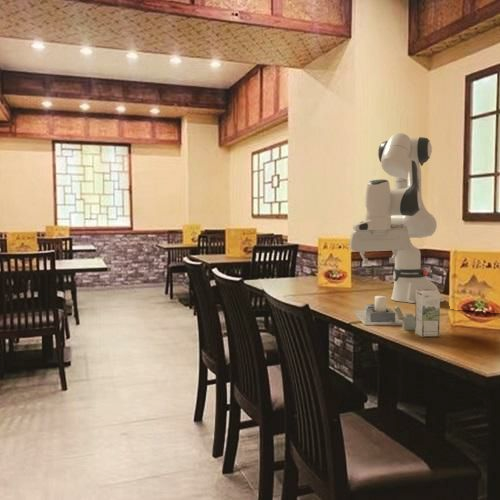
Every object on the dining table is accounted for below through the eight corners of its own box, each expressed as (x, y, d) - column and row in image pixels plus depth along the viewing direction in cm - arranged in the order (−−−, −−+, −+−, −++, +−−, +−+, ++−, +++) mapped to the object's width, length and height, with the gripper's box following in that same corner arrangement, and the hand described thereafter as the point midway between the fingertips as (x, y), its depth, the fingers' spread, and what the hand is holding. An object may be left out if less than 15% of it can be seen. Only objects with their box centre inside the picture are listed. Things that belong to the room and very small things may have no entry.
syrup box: (432, 332, 159) (432, 288, 158) (440, 337, 153) (440, 291, 152) (414, 333, 159) (415, 288, 158) (421, 337, 153) (422, 291, 152)
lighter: (414, 328, 165) (414, 305, 165) (416, 329, 164) (416, 306, 163) (393, 329, 165) (393, 305, 164) (395, 330, 163) (395, 306, 163)
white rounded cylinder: (384, 317, 179) (384, 295, 178) (387, 319, 175) (387, 297, 174) (373, 317, 179) (373, 296, 179) (376, 320, 175) (376, 297, 175)
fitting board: (388, 312, 193) (388, 302, 193) (402, 324, 171) (402, 313, 171) (354, 312, 194) (354, 302, 194) (364, 325, 172) (364, 313, 172)
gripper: (405, 224, 179) (405, 261, 180) (348, 225, 180) (349, 262, 181) (410, 224, 173) (410, 263, 174) (351, 225, 174) (351, 264, 175)
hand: (378, 263), depth 177 cm, fingers open, 8 cm apart
